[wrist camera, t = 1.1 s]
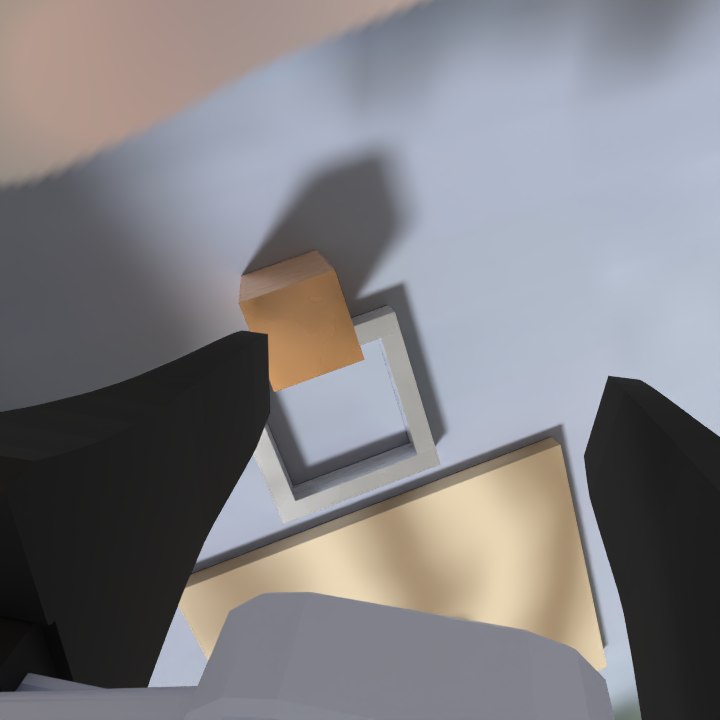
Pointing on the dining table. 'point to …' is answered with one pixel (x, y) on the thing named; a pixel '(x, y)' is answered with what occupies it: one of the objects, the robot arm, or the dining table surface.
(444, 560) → the board
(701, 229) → the dining table surface
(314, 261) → the square frame with cube
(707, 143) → the dining table surface
